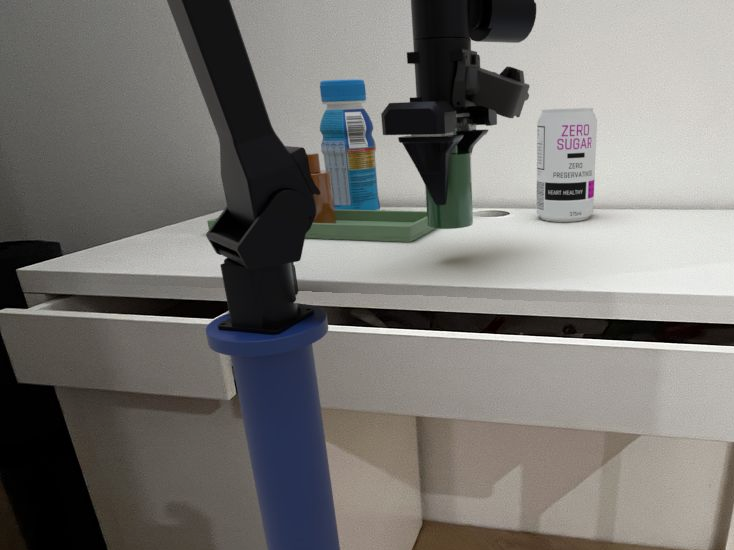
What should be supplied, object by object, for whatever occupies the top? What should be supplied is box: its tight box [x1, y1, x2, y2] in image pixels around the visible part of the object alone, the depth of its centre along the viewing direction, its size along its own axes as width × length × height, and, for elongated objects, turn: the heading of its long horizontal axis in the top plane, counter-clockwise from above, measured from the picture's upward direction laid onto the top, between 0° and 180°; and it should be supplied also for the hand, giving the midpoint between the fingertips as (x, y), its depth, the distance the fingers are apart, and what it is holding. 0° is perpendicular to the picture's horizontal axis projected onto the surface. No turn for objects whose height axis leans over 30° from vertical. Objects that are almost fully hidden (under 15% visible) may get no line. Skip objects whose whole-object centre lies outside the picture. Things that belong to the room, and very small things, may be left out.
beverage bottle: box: [319, 79, 381, 210], centre depth 97 cm, size 8×8×20 cm
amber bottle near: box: [306, 152, 337, 224], centre depth 87 cm, size 5×5×10 cm
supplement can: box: [536, 107, 598, 223], centre depth 89 cm, size 8×8×15 cm
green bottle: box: [424, 128, 474, 230], centre depth 66 cm, size 5×5×10 cm
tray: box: [206, 209, 436, 243], centre depth 89 cm, size 11×31×2 cm, turn 72°
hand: (449, 201), depth 67 cm, fingers closed on green bottle, 5 cm apart
